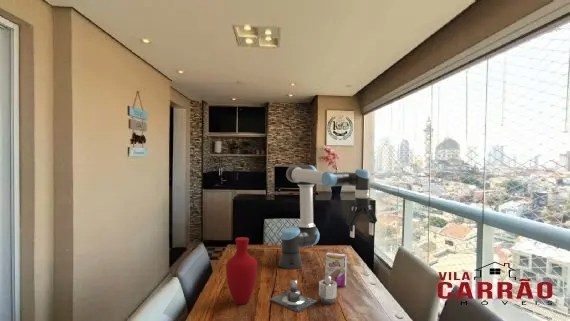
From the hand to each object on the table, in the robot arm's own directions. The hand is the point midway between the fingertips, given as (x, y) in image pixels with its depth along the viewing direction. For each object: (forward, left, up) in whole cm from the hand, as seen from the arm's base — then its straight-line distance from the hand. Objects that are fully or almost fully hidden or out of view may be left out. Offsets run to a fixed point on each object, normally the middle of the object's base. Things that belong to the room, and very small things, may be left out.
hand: (361, 236), depth 177 cm
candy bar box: (-10, -11, -26) cm, 30 cm away
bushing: (-1, -32, -23) cm, 39 cm away
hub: (-13, -43, -26) cm, 52 cm away
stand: (-1, -32, -26) cm, 41 cm away
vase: (-31, -60, -26) cm, 72 cm away
